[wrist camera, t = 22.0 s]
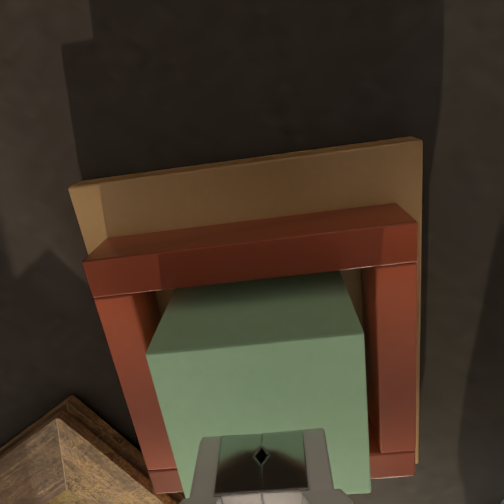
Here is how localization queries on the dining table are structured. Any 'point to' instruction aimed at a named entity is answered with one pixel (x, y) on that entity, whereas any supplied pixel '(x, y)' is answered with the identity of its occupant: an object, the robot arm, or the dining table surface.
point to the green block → (264, 368)
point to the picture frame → (75, 463)
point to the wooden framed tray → (266, 266)
